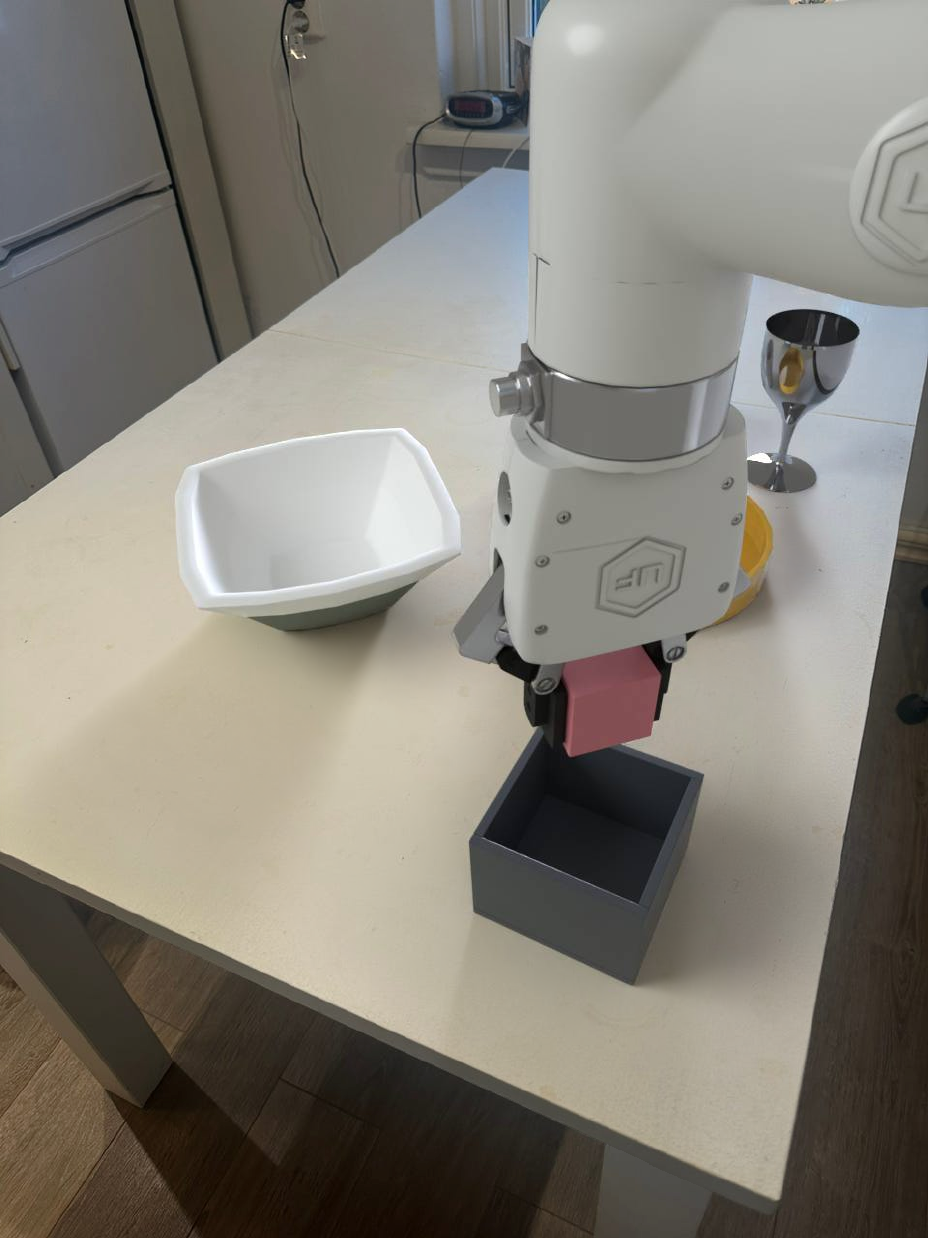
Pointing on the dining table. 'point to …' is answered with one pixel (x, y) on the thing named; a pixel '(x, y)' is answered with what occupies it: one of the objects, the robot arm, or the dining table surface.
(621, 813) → the grey bin
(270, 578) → the bowl
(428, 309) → the dining table surface
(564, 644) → the robot arm
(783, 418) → the wine glass
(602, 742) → the block
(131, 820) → the dining table surface
